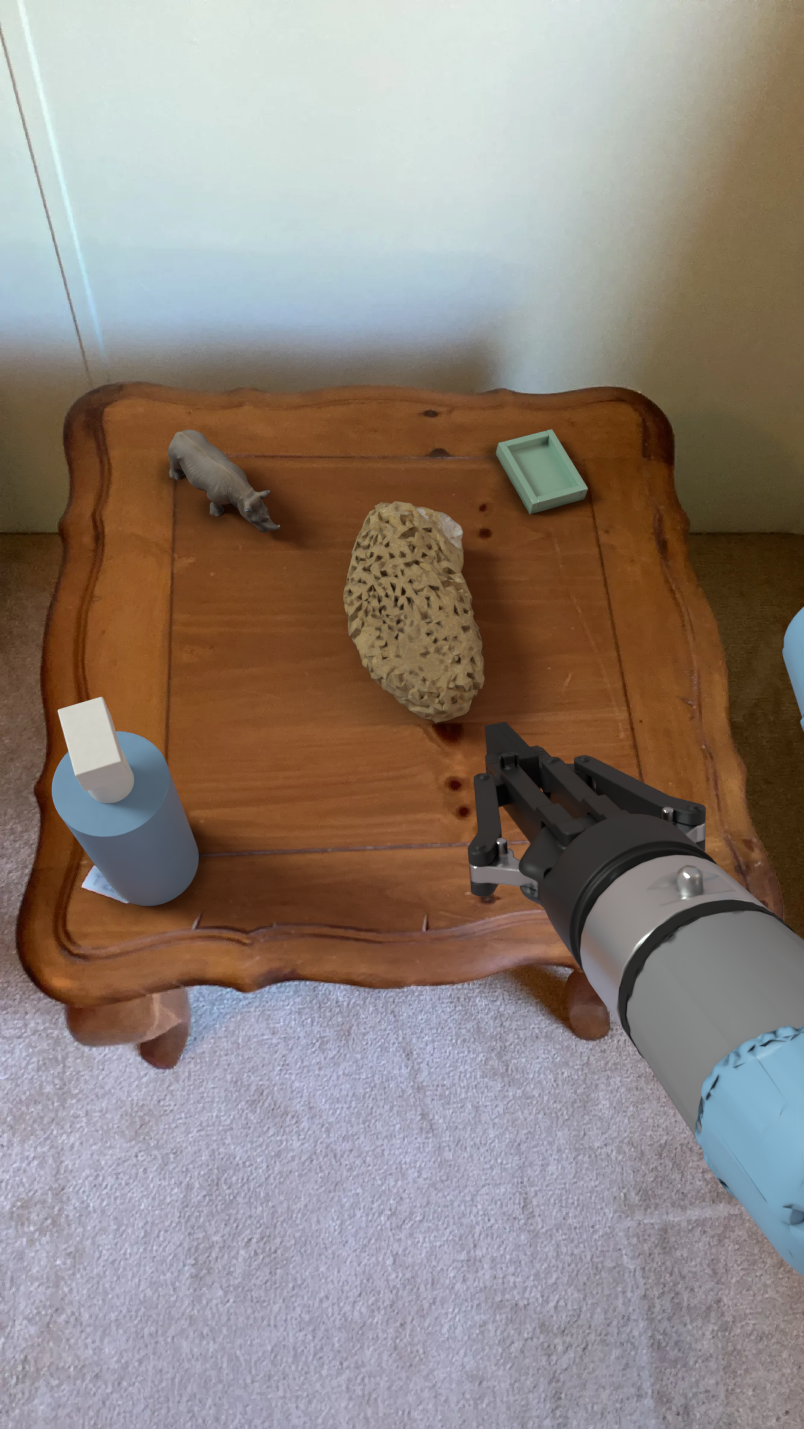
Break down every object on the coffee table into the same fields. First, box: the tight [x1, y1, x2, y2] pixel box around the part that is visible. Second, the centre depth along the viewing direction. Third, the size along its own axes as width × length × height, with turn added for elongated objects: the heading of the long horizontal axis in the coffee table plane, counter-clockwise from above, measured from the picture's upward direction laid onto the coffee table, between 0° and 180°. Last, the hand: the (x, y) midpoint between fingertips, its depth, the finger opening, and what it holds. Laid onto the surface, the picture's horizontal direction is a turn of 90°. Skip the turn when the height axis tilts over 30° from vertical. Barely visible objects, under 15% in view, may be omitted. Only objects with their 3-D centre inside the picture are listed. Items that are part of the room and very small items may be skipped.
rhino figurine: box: [167, 429, 281, 534], centre depth 84 cm, size 4×14×6 cm, turn 48°
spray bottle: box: [51, 696, 200, 907], centre depth 61 cm, size 7×7×21 cm
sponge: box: [342, 500, 486, 724], centre depth 79 cm, size 13×8×20 cm
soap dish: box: [495, 428, 589, 515], centre depth 90 cm, size 8×6×2 cm
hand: (496, 742), depth 62 cm, fingers closed
